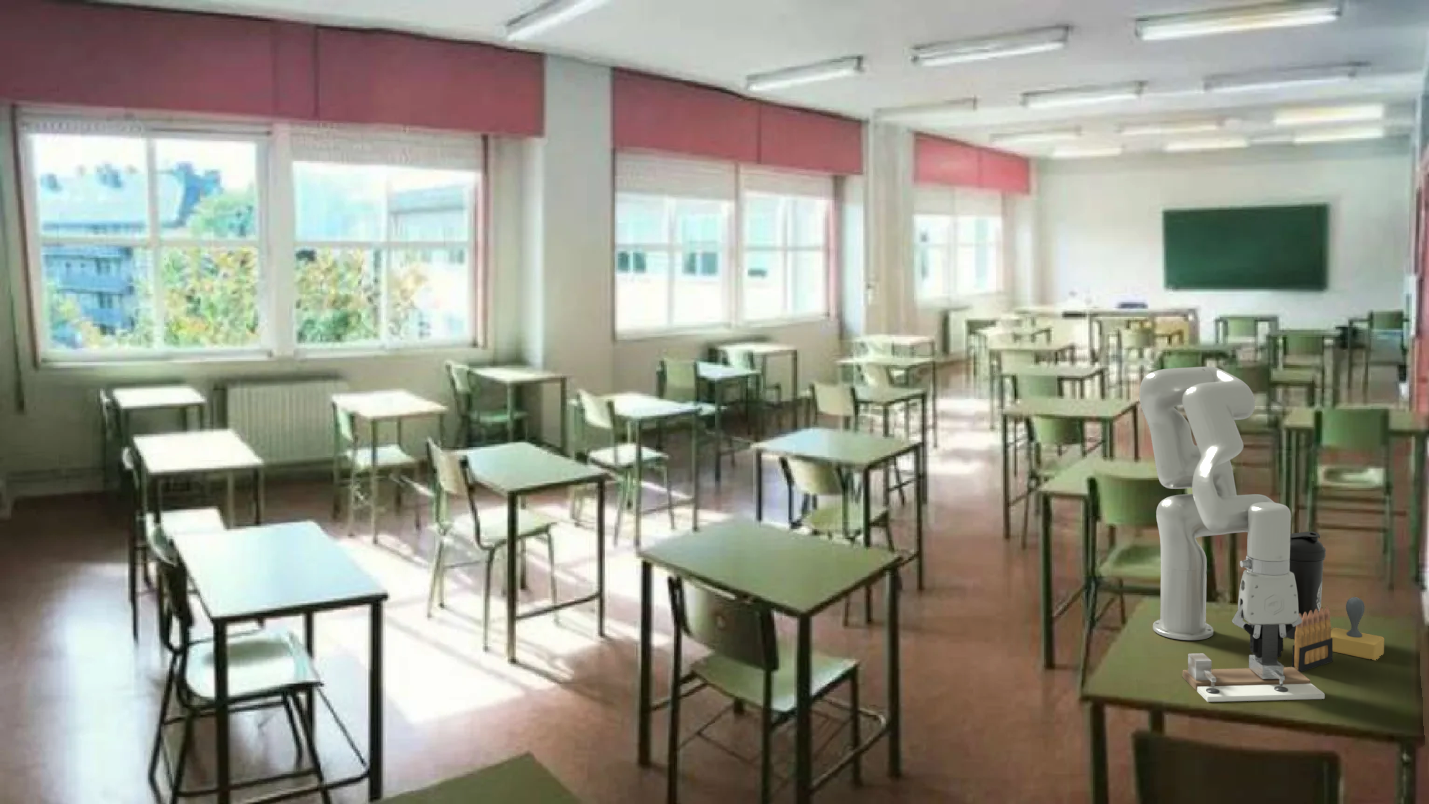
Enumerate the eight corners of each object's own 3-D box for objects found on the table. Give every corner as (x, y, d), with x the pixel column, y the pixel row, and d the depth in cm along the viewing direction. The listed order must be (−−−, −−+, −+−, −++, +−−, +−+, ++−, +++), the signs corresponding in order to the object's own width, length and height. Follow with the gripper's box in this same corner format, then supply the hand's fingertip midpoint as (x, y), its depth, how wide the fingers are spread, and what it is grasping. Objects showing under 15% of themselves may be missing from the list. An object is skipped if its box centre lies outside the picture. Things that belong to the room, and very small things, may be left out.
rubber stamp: (1384, 653, 231) (1386, 598, 229) (1375, 661, 227) (1377, 605, 225) (1332, 643, 238) (1334, 589, 236) (1323, 650, 234) (1324, 596, 232)
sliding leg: (1248, 667, 221) (1249, 616, 220) (1269, 667, 221) (1270, 616, 220) (1271, 687, 212) (1273, 633, 210) (1292, 686, 211) (1294, 633, 210)
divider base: (1182, 677, 223) (1182, 651, 222) (1293, 674, 222) (1293, 648, 221) (1203, 697, 212) (1203, 670, 212) (1319, 694, 211) (1319, 667, 211)
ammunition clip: (1299, 672, 223) (1301, 615, 221) (1291, 669, 224) (1292, 613, 223) (1332, 661, 228) (1334, 605, 226) (1324, 658, 229) (1325, 603, 228)
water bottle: (1326, 642, 238) (1329, 539, 235) (1274, 639, 242) (1276, 537, 239) (1319, 627, 247) (1321, 528, 244) (1268, 624, 251) (1270, 526, 248)
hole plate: (1197, 691, 215) (1197, 685, 215) (1311, 688, 214) (1311, 682, 214) (1207, 701, 210) (1207, 695, 210) (1324, 698, 209) (1324, 692, 209)
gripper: (1233, 572, 212) (1232, 663, 215) (1320, 569, 211) (1317, 660, 214) (1217, 561, 220) (1216, 649, 222) (1301, 559, 219) (1299, 647, 221)
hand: (1266, 654), depth 218 cm, fingers closed on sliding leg, 3 cm apart
